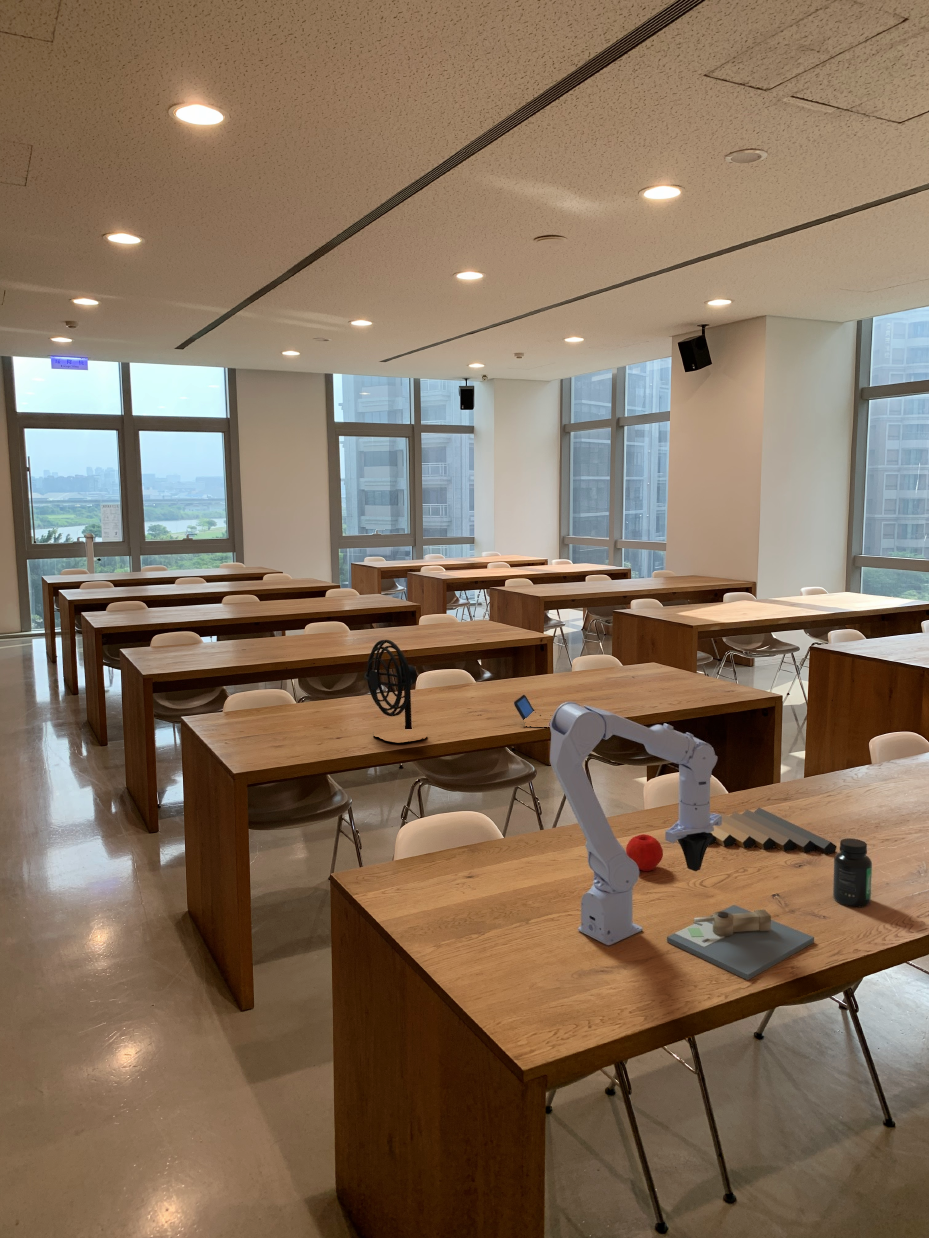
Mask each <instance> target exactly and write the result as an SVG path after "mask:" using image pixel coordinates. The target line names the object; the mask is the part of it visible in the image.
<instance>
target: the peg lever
mask: <svg viewBox="0 0 929 1238" xmlns="http://www.w3.org/2000/svg"><path fill="white" fill-rule="evenodd" d="M712 915H713V916H712ZM712 915H711V916H712V917H709V916H702V917H693V923H694V922H709V921H713V932H714V933H715V934H717V935H720V936H730V935H732V934H733V932H742V931H755V930H760V931H769V930H771V920H772V915H771V914H770V913H769V912H768V911H767V910H766V909H764V908H763V909H754V910H753V911H751V913H738V914H730V913H728V912H722V910H720V911H715V912H713V913H712Z"/></svg>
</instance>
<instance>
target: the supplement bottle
mask: <svg viewBox="0 0 929 1238" xmlns="http://www.w3.org/2000/svg"><path fill="white" fill-rule="evenodd" d="M839 842H840V845H839V852H837V853H835V856H834V859H833V883H832V885H833V887H832V892H833V893H832V895H833V896H832V897H833V899H834V900H835V902H837V903H838V904H840V905H842V906H846V907H850V908H865V907H867V906H868V905H870V903H871V898H872V896H871V895H872V878H873V877H872V875H873V874H872V873H873V863H872V859H871V858H870V857H869V856H868V855H867V854H868V850H867V849H868V844H867V842H865V841H863V840H861V839H857V838H849V837H848V838H843V839H841V840H840V841H839Z"/></svg>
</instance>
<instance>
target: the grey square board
mask: <svg viewBox="0 0 929 1238" xmlns="http://www.w3.org/2000/svg"><path fill="white" fill-rule="evenodd" d="M721 911H722V912H728V913H730V914H738V913H751V912H752V910H751V911H750V910H748V909H745V908H744V907H743V908H742V907H740V906H738V905H735V904H733V905H731V906H728V907H726V908H724V909H722V910H721ZM712 916H713V914H712V915H710V916H708V917H712ZM666 942H667V943H669V944H671V945H672V946H675V947H677V948H678V949H680V950H683V951H685V952H687V953H689V954H691V955H694V956H696V957H698V958H700V959H702V960H704V961H706V962H708V963H710V964H712V965H715V966H717V967H719V968H720V969H723V970H725V971H727V972H730V973H731V974H733V975H736V976H738V977H739V978H742V979H744V980H746V981H749V980H751V979H752V978H755V977H756V976H758V975H760V974H761V973H763V972H765V971H766V970H768V969H770V968H772V967H774V966H775V965H777V964H779V963H781V962H782V961H784V960H786V959H787V958H789V957H791V956H793V955H795V954H796V953H798V952H800V951H801V950H803V949H805V948H807V947H808V946H810V945H812V944H813V943H815V937H814V936H813V935H810V934H807V933H805V932H803V931H800V930H797V929H795V928H793V927H791V926H787V925H785V924H783V923H780V922H778V921H775V920H773V919H771V930H769V931H760V930H755V931H742V932H733V934H732V935H730V936H720V935H717V934H715V933H714V932H713V921H709V922H694V921H693V924H691V925H689V926H687V927H684V928H683V929H681V930H678V931H676V932H674V933H671V934H670V935H668V936H666Z"/></svg>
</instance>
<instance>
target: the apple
mask: <svg viewBox="0 0 929 1238" xmlns="http://www.w3.org/2000/svg"><path fill="white" fill-rule="evenodd" d="M625 851H626V854H627V855H628V857H629V858H631V859H632V860H633V861H635V862H636V864H637V865H638V868H639V871H643V872H650V871H653V870H654V869H655V868H656V867H657V866H658V865H659V864H660V863H661V862H662V859H663V857H664V850H663V847H662V845H661V843H660V842H659V840H657V839H656V838H655V837H654V836H651V835H650V834H638V835H635V836H633V837H632V838H631V839H630V840H629V841H628V842H627V844H626V847H625Z"/></svg>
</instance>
